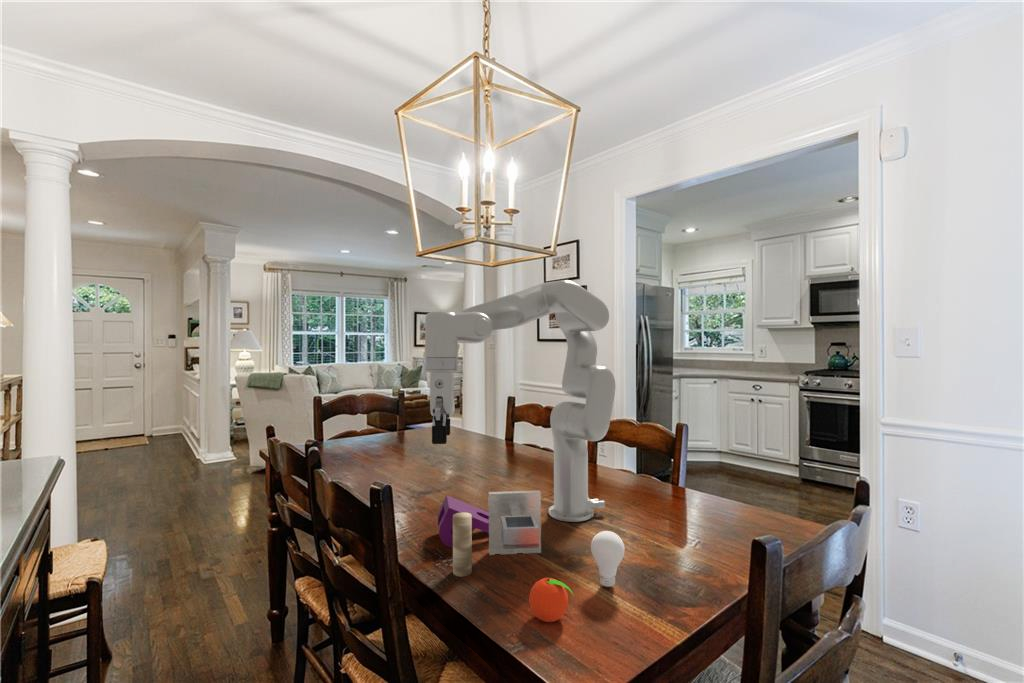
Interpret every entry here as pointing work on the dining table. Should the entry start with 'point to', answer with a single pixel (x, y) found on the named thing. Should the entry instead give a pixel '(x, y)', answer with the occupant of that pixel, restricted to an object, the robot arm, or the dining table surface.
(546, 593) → the clementine
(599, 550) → the light bulb
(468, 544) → the maple peg
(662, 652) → the dining table surface
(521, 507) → the cup bracket
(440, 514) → the mounting bracket
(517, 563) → the dining table surface
